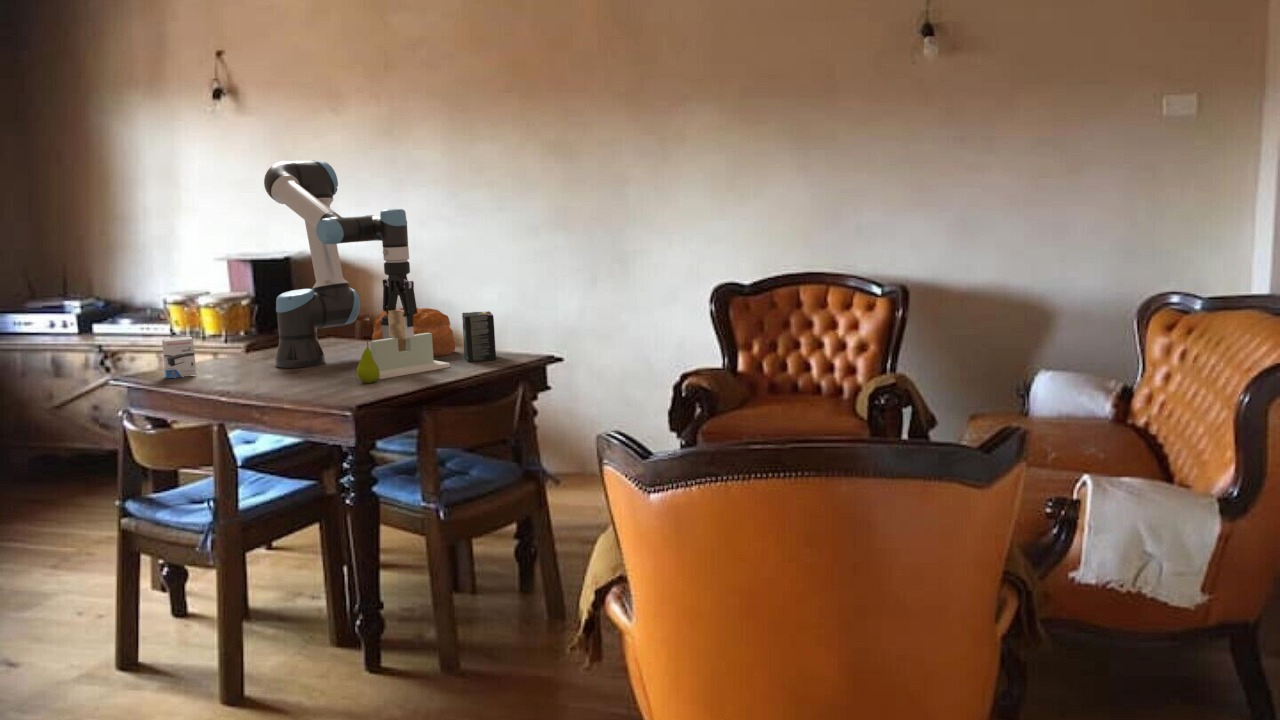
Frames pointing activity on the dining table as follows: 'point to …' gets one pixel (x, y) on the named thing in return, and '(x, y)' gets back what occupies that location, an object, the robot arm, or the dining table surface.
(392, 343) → the slotted board
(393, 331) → the wooden block
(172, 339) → the ink box
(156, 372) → the dining table surface
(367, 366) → the fruit
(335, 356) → the dining table surface
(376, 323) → the bread
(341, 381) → the dining table surface
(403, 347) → the coffee cup
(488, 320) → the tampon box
